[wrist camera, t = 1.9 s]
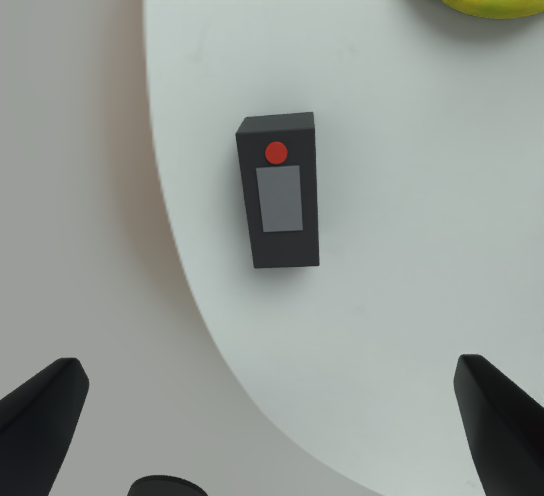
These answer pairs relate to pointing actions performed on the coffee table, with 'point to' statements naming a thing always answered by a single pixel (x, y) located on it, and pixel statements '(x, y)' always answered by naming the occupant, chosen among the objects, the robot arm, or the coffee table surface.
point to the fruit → (497, 8)
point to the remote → (280, 188)
